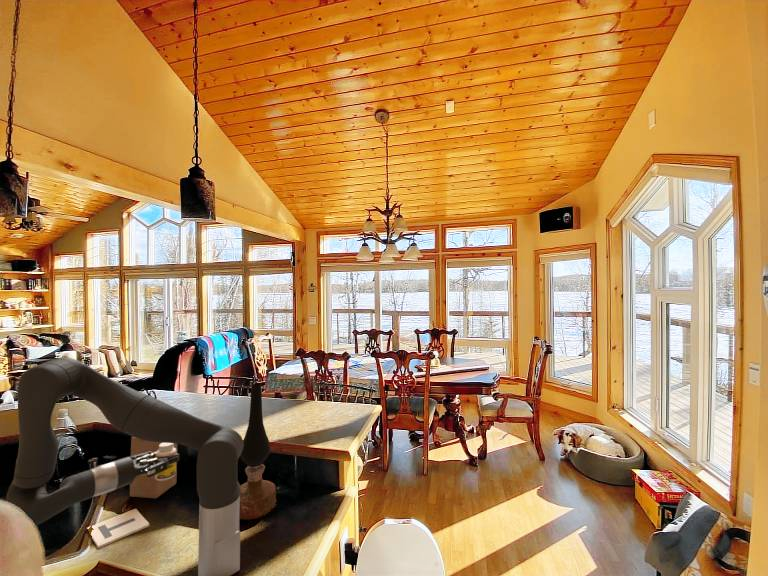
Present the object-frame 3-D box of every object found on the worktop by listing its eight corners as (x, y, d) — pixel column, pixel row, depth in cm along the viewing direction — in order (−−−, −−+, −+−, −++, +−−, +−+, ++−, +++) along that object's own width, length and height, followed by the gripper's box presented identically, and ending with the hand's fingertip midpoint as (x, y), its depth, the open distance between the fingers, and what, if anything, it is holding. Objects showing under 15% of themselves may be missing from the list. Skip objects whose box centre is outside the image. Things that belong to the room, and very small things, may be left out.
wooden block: (156, 499, 118) (157, 438, 118) (128, 497, 119) (130, 437, 119) (177, 483, 127) (178, 427, 128) (151, 481, 129) (153, 426, 129)
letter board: (149, 526, 104) (149, 523, 104) (98, 548, 94) (98, 546, 94) (135, 510, 111) (135, 508, 111) (87, 529, 102) (87, 527, 102)
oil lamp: (250, 502, 122) (244, 384, 130) (289, 501, 118) (280, 379, 125) (221, 521, 109) (216, 389, 116) (263, 521, 105) (255, 384, 112)
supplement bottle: (154, 483, 106) (155, 449, 106) (154, 475, 111) (155, 442, 111) (176, 478, 109) (177, 444, 109) (175, 471, 114) (176, 438, 114)
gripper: (122, 469, 94) (186, 447, 108) (101, 456, 102) (163, 437, 116) (121, 498, 94) (185, 472, 108) (100, 482, 102) (163, 460, 116)
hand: (174, 454), depth 112 cm, fingers closed on supplement bottle, 5 cm apart
